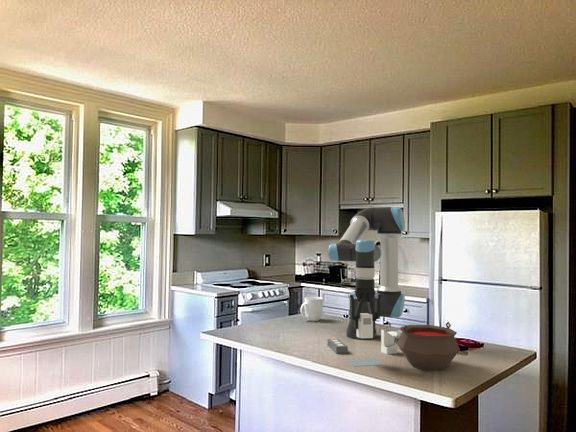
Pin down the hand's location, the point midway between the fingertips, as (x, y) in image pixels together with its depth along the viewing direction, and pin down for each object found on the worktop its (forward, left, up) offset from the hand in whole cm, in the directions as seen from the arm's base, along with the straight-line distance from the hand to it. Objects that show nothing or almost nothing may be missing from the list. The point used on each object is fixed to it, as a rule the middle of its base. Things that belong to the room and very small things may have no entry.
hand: (364, 336), depth 181 cm
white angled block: (-16, -13, -11) cm, 23 cm away
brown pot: (-24, +6, -11) cm, 27 cm away
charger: (0, 0, 0) cm, 0 cm away
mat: (0, 0, -10) cm, 10 cm away
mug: (0, -88, -11) cm, 89 cm away
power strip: (+5, -24, -10) cm, 27 cm away
